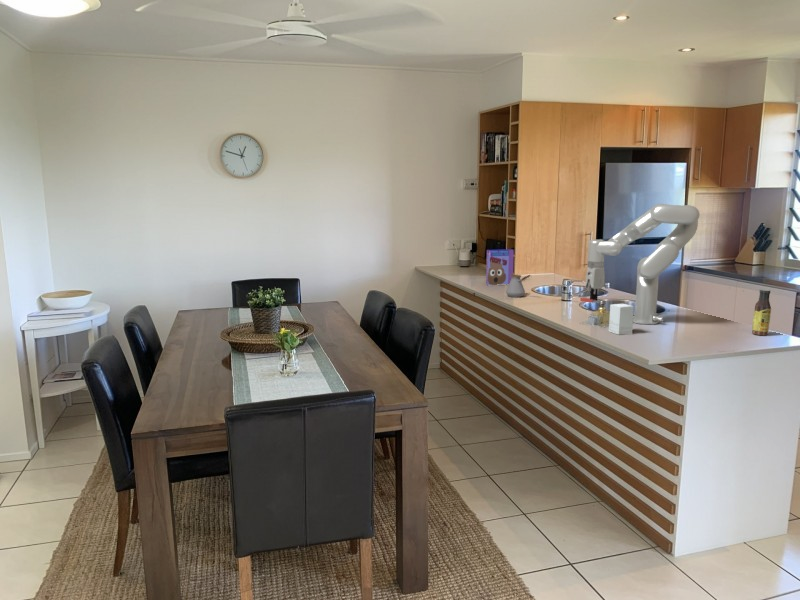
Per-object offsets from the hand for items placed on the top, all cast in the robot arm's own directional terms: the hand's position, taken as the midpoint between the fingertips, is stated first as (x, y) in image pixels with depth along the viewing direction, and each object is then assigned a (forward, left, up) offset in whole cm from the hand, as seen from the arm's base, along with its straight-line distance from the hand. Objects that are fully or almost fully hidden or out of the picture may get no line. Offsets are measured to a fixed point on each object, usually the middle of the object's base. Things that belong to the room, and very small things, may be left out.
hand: (593, 301), depth 297 cm
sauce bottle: (-67, -27, -9) cm, 72 cm away
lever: (-3, +4, -1) cm, 5 cm away
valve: (-8, +4, -9) cm, 12 cm away
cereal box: (+104, -50, -9) cm, 116 cm away
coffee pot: (+63, -21, -9) cm, 66 cm away
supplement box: (-25, +16, -9) cm, 31 cm away
